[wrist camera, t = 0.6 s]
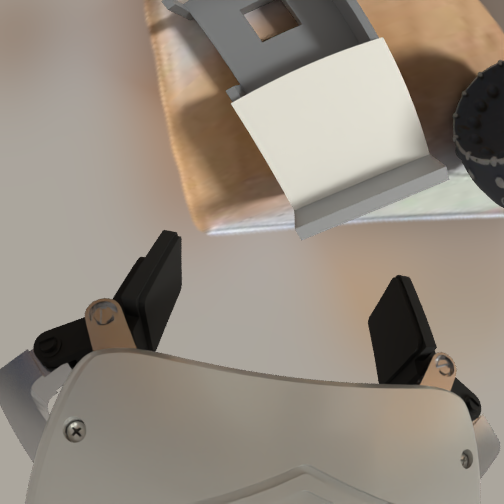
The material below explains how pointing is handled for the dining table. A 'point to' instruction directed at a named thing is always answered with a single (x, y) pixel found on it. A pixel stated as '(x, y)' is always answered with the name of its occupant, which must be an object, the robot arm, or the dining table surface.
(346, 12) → the housing
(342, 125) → the lid
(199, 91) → the dining table surface
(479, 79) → the studded black wheel
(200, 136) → the dining table surface
